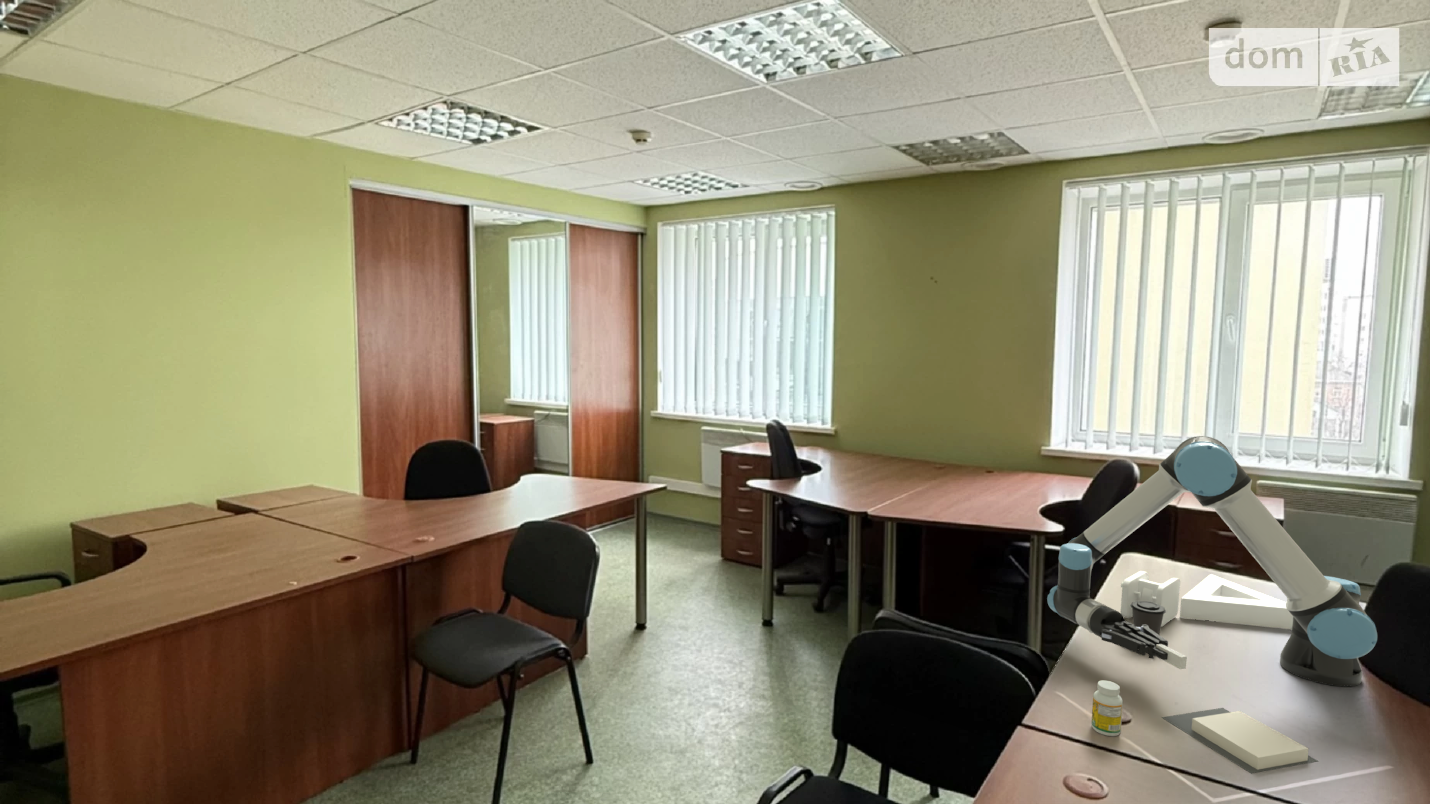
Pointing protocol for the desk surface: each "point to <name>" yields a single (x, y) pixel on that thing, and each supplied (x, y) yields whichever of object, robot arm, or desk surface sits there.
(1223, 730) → the tile
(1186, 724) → the mat
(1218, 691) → the desk surface
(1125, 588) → the cable organizer
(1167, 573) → the desk surface
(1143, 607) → the coffee cup
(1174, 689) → the desk surface
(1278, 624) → the triangle block
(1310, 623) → the robot arm
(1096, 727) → the supplement bottle
